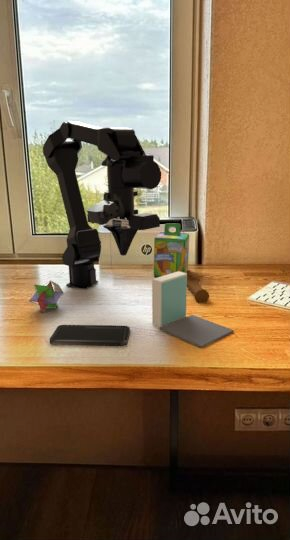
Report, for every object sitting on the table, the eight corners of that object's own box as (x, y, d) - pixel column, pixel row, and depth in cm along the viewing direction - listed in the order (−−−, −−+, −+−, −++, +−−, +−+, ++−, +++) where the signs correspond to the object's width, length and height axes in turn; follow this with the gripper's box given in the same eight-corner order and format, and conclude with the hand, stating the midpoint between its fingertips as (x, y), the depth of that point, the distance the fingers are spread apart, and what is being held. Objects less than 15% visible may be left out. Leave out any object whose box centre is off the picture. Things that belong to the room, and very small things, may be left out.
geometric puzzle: (48, 310, 89) (57, 276, 91) (20, 307, 91) (30, 273, 93) (62, 318, 95) (70, 286, 98) (36, 315, 97) (44, 284, 100)
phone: (126, 343, 77) (47, 341, 78) (126, 348, 77) (48, 346, 78) (130, 325, 84) (59, 324, 85) (130, 330, 85) (59, 329, 86)
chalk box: (153, 277, 118) (153, 226, 114) (159, 268, 127) (159, 220, 122) (185, 278, 116) (186, 227, 112) (188, 269, 125) (190, 221, 120)
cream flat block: (152, 323, 87) (152, 279, 84) (178, 313, 92) (178, 271, 89) (161, 327, 85) (161, 282, 82) (187, 317, 90) (188, 273, 87)
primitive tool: (178, 279, 117) (179, 268, 116) (197, 279, 117) (198, 267, 116) (194, 304, 98) (195, 291, 97) (216, 303, 99) (217, 290, 98)
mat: (160, 329, 84) (159, 328, 84) (192, 316, 90) (192, 314, 90) (201, 348, 76) (201, 346, 76) (233, 331, 82) (233, 330, 82)
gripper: (66, 188, 92) (71, 255, 96) (122, 192, 79) (125, 269, 83) (104, 184, 99) (107, 247, 104) (161, 187, 87) (161, 259, 91)
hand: (123, 255), depth 95 cm, fingers closed
